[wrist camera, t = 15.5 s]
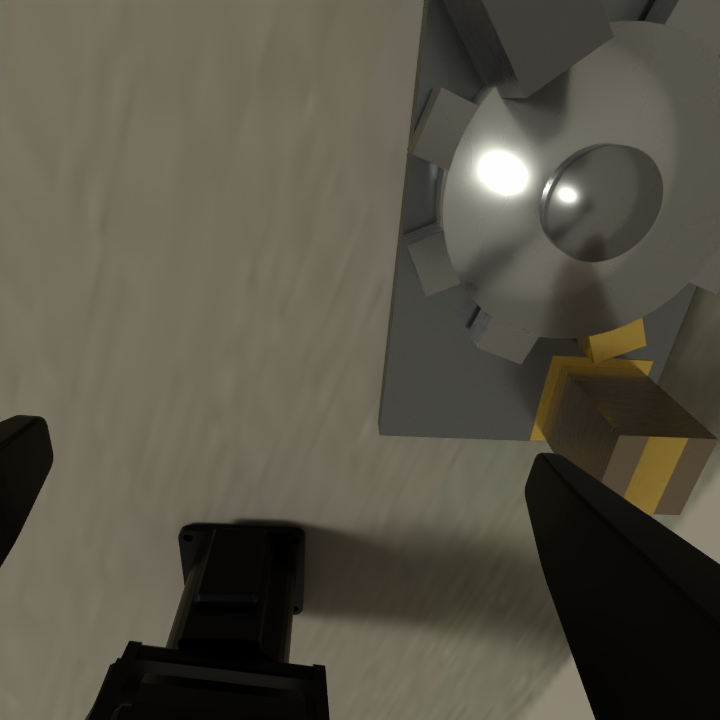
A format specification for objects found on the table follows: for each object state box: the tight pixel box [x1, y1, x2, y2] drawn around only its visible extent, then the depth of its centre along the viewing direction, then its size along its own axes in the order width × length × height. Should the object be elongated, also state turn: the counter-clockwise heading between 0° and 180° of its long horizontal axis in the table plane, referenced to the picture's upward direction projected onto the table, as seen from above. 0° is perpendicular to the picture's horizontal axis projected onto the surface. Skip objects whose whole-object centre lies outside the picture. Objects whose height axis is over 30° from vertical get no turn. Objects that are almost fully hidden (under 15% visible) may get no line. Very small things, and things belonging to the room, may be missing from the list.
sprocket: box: [403, 0, 720, 364], centre depth 15 cm, size 18×12×4 cm
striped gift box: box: [541, 365, 718, 515], centre depth 20 cm, size 4×4×5 cm
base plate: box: [378, 0, 720, 441], centre depth 18 cm, size 22×12×1 cm, turn 176°
